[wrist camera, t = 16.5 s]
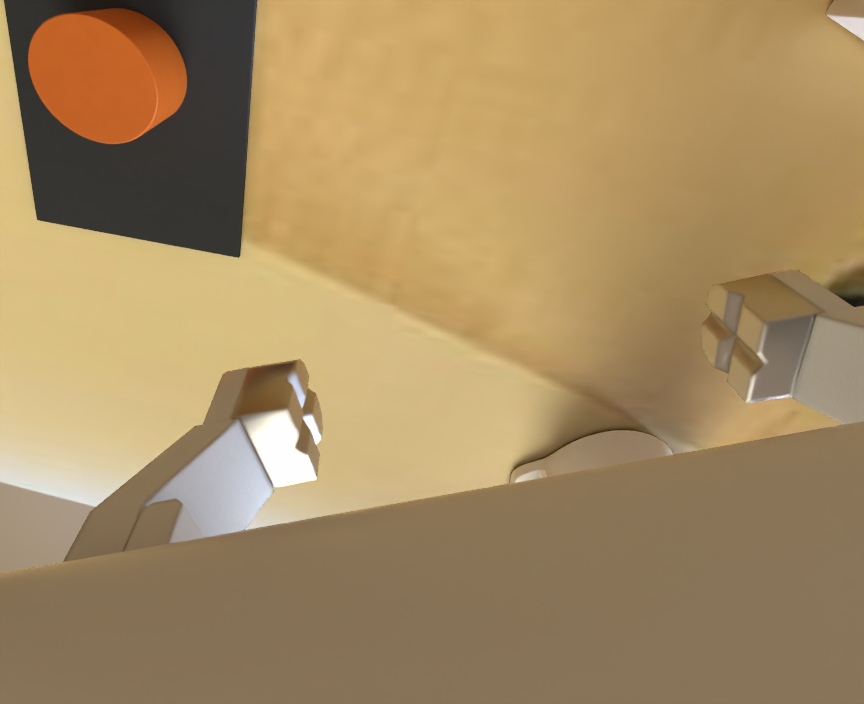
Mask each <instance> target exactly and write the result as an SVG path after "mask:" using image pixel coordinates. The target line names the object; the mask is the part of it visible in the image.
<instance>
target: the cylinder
mask: <svg viewBox="0 0 864 704" xmlns="http://www.w3.org/2000/svg"><path fill="white" fill-rule="evenodd" d="M28 65H29V71H30V76H31V79H32V82H33V85H34V87H35V89H36V91H37V93H38V95H39V97H40V98H41V100H42V102H43V103H44V104H45V106H46V107H47V109H48V110H49V111H50V112H51V113H52V114H53V115H54V116H55V117H56V118H57V119H58V120H59V121H60V122H61V123H62V124H64V125H65V126H66V127H67V128H69V129H70V130H72V131H73V132H75V133H77V134H79V135H81V136H83V137H85V138H87V139H90V140H93V141H96V142H100V143H106V144H120V143H126V142H130V141H132V140H134V139H137V138H138V137H140V136H141V135H143V134H144V133H146V132H147V131H149V130H150V129H152V128H153V127H155V126H156V125H158V124H159V123H161V122H162V121H164V120H165V119H167V118H168V117H170V116H171V115H172V114H174V113H175V112H176V111H177V110H178V108H179V107H180V106H181V104H182V102H183V100H184V97H185V94H186V90H187V74H186V68H185V64H184V61H183V58H182V56H181V54H180V52H179V50H178V48H177V46H176V45H175V43H174V42H173V40H172V39H171V37H170V36H169V35H168V34H167V33H166V32H165V31H164V30H163V29H162V28H161V27H160V26H159V25H158V24H156V23H155V22H154V21H153V20H151V19H149V18H148V17H146V16H144V15H142V14H140V13H138V12H135V11H132V10H128V9H122V8H111V9H102V10H92V11H83V12H74V13H64V14H60V15H56V16H54V17H52V18H50V19H48V20H46V21H45V22H44V23H42V24H41V25H40V26H39V28H38V29H37V30H36V32H35V33H34V35H33V37H32V39H31V42H30V46H29V52H28Z"/></svg>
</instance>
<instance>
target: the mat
mask: <svg viewBox="0 0 864 704" xmlns="http://www.w3.org/2000/svg"><path fill="white" fill-rule="evenodd" d="M4 3H5V10H6V16H7V23H8V29H9V36H10V43H11V49H12V56H13V63H14V69H15V76H16V82H17V89H18V96H19V102H20V109H21V116H22V122H23V129H24V136H25V142H26V149H27V155H28V162H29V169H30V175H31V182H32V189H33V195H34V202H35V209H36V215H37V220H40V221H46V222H51V223H56V224H62V225H67V226H72V227H78V228H83V229H88V230H94V231H99V232H104V233H110V234H115V235H120V236H126V237H131V238H136V239H142V240H147V241H152V242H158V243H163V244H169V245H174V246H179V247H185V248H190V249H195V250H201V251H206V252H211V253H217V254H222V255H227V256H233V257H238V258H239V256H240V249H241V234H242V219H243V204H244V189H245V174H246V159H247V143H248V128H249V113H250V98H251V83H252V68H253V53H254V37H255V22H256V7H257V0H4ZM111 8H122V9H128V10H132V11H135V12H138V13H140V14H142V15H144V16H146V17H148V18H149V19H151V20H153V21H154V22H155V23H156V24H158V25H159V26H160V27H161V28H162V29H163V30H164V31H165V32H166V33H167V34H168V35H169V36H170V37H171V39H172V40H173V42H174V43H175V45H176V46H177V48H178V50H179V52H180V54H181V56H182V58H183V61H184V64H185V68H186V74H187V90H186V94H185V97H184V100H183V102H182V104H181V106H180V107H179V108H178V110H177V111H176V112H175V113H174V114H172V115H171V116H170V117H168V118H167V119H165V120H164V121H162V122H161V123H159V124H158V125H156V126H155V127H153V128H152V129H150V130H149V131H147V132H146V133H144V134H143V135H141V136H140V137H138V138H137V139H134V140H132V141H130V142H126V143H120V144H106V143H100V142H96V141H93V140H90V139H87V138H85V137H83V136H81V135H79V134H77V133H75V132H73V131H72V130H70V129H69V128H67V127H66V126H65V125H64V124H62V123H61V122H60V121H59V120H58V119H57V118H56V117H55V116H54V115H53V114H52V113H51V112H50V111H49V110H48V109H47V107H46V106H45V104H44V103H43V102H42V100H41V98H40V97H39V95H38V93H37V91H36V89H35V87H34V85H33V82H32V79H31V76H30V71H29V65H28V52H29V46H30V42H31V39H32V37H33V35H34V33H35V32H36V30H37V29H38V28H39V26H40V25H41V24H42V23H44V22H45V21H46V20H48V19H50V18H52V17H54V16H56V15H60V14H64V13H74V12H83V11H92V10H102V9H111Z"/></svg>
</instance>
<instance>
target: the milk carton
mask: <svg viewBox="0 0 864 704" xmlns="http://www.w3.org/2000/svg"><path fill="white" fill-rule="evenodd" d="M826 15H827V16H828V17H830V18H831V19H833V20H834V21H836V22H837V23H838V24H840V25H841V26H843V27H844V28H846V29H847V30H849V31H850V32H852V33H853V34H855V35H856V36H858V37H859V38H860V39H862V40H863V41H864V0H834V1H833V2H832V4H831V5H830V7H829V8H828V10H827V12H826Z"/></svg>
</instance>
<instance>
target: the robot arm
mask: <svg viewBox="0 0 864 704" xmlns="http://www.w3.org/2000/svg"><path fill="white" fill-rule="evenodd" d="M706 305H707V307H708V308H709V309H710V311H711V312H712V313H711V314H710V316H709V317H708V318H707V319H706V320H705V322H704V323H703V326H702V334H701V340H702V345H703V350H704V353H705V355H706V357H707V359H708V360H709V362H710V363H711V364H712V365H713V366H714V367H715V368H717V369H719V370H722V371H724V372H727V373H729V374H728V379H727V382H728V383H729V384H730V386H731V387H732V388H733V389H734V390H735V391H736V392H737V393H738V394H739V396H740V397H741V398H742V399H743V400H744V401H745V402H746V403H751V402H758V401H765V400H771V399H778V398H784V397H791V396H792V399H794V400H796V401H798V402H800V403H802V404H804V405H806V406H808V407H810V408H812V409H814V410H816V411H818V412H820V413H822V414H824V415H826V416H828V417H830V418H832V419H834V420H836V421H838V422H840V423H842V424H844V425H839V426H834V427H828V428H822V429H817V430H811V431H805V432H800V433H794V434H788V435H783V436H777V437H771V438H766V439H760V440H754V441H749V442H743V443H737V444H732V445H726V446H720V447H715V448H709V449H703V450H698V451H692V452H686V453H681V454H675V455H673V453H672V451H671V450H670V448H669V447H668V446H667V445H666V444H665V443H664V442H663V441H661V440H660V439H658V438H656V437H654V436H652V435H650V434H647V433H643V432H638V431H630V430H615V431H607V432H601V433H596V434H593V435H589V436H586V437H583V438H581V439H578V440H576V441H574V442H572V443H570V444H568V445H566V446H564V447H562V448H561V449H559V450H558V451H556V452H555V453H553V454H551V455H550V456H548V457H546V458H544V459H541V460H537V461H534V462H530V463H527V464H524V465H522V466H519V467H518V468H516V469H515V470H514V471H513V472H512V474H511V478H510V483H509V484H505V485H499V486H493V487H488V488H482V489H476V490H471V491H465V492H459V493H454V494H448V495H442V496H436V497H431V498H425V499H419V500H414V501H408V502H402V503H397V504H391V505H385V506H380V507H374V508H368V509H363V510H357V511H351V512H346V513H340V514H334V515H328V516H323V517H317V518H311V519H306V520H300V521H294V522H289V523H283V524H277V525H272V526H266V527H260V528H255V529H249V530H245V529H246V527H247V526H248V525H249V523H250V522H251V521H252V519H253V518H254V517H255V515H256V514H257V513H258V511H259V510H260V509H261V507H262V506H263V505H264V503H265V502H266V501H267V499H268V498H269V497H270V495H271V494H272V493H273V491H274V489H273V488H278V487H283V486H287V485H292V484H297V483H302V482H307V481H312V480H317V472H318V464H319V456H320V454H319V451H318V448H317V446H316V444H317V443H318V442H319V440H320V439H321V438H322V429H323V426H322V414H321V410H320V405H319V402H318V399H317V396H316V393H314V392H313V391H311V390H310V389H308V381H309V374H308V372H307V369H306V367H305V364H304V363H303V362H302V361H301V360H300V359H299V360H293V361H287V362H280V363H274V364H268V365H262V366H256V367H252V368H249V367H248V368H243V369H238V370H233V371H228V372H226V373H224V374H223V375H222V377H221V380H220V382H219V385H218V387H217V390H216V392H215V395H214V397H213V400H212V402H211V405H210V407H209V410H208V412H207V415H206V417H205V420H204V423H203V425H199V426H195V427H193V428H192V429H191V430H190V431H189V432H187V433H186V434H185V435H184V436H182V437H181V438H180V439H179V440H177V441H176V442H175V443H174V444H173V445H171V446H170V447H169V448H168V449H166V450H165V451H164V452H163V453H162V454H160V455H159V456H158V457H157V458H155V459H154V460H153V461H152V462H151V463H149V464H148V465H147V466H146V467H144V468H143V469H142V470H141V471H140V472H138V473H137V474H136V475H135V476H133V477H132V478H131V479H130V480H129V481H127V482H126V483H125V484H124V485H122V486H121V487H120V488H119V489H117V490H116V491H115V492H114V493H113V494H111V495H110V496H109V497H108V498H106V499H105V500H104V501H103V502H102V503H100V504H99V505H98V506H97V507H95V508H94V509H93V510H92V511H91V512H90V513H89V515H88V517H87V519H86V520H85V523H84V524H83V526H82V528H81V530H80V532H79V534H78V535H77V537H76V539H75V541H74V543H73V544H72V546H71V548H70V550H69V552H68V554H67V555H66V557H65V559H64V561H63V562H62V563H56V564H51V565H44V566H39V567H33V568H28V569H22V570H16V571H10V572H5V573H0V704H864V306H860V307H853V306H851V305H850V304H848V303H847V302H845V301H844V300H842V299H841V298H839V297H838V296H836V295H835V294H833V293H832V292H830V291H829V290H827V289H826V288H824V287H823V286H821V285H820V284H818V283H817V282H815V281H814V280H812V279H811V278H809V277H808V276H806V275H805V274H803V273H802V272H800V271H799V270H794V269H787V270H782V271H777V272H773V273H768V274H764V275H760V276H755V277H750V278H745V279H741V280H736V281H731V282H726V283H721V284H716V285H712V286H711V288H710V290H709V292H708V294H707V300H706Z"/></svg>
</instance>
